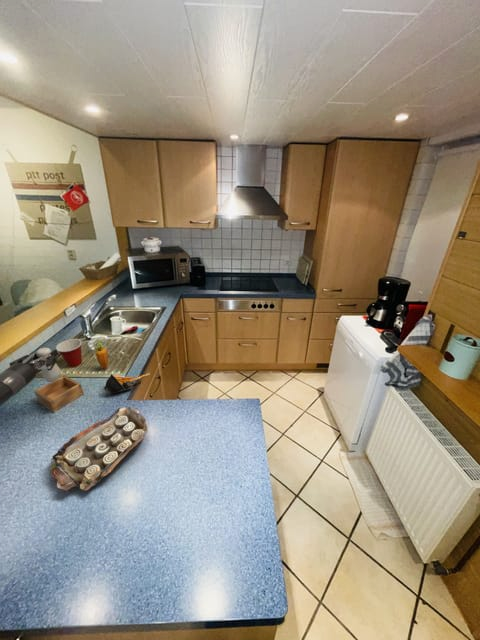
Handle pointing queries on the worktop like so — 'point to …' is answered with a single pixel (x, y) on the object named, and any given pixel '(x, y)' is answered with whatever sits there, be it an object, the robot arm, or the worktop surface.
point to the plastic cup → (71, 351)
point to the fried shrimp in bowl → (121, 383)
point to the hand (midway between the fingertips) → (49, 351)
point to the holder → (59, 393)
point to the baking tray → (97, 449)
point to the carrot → (102, 356)
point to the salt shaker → (46, 374)
